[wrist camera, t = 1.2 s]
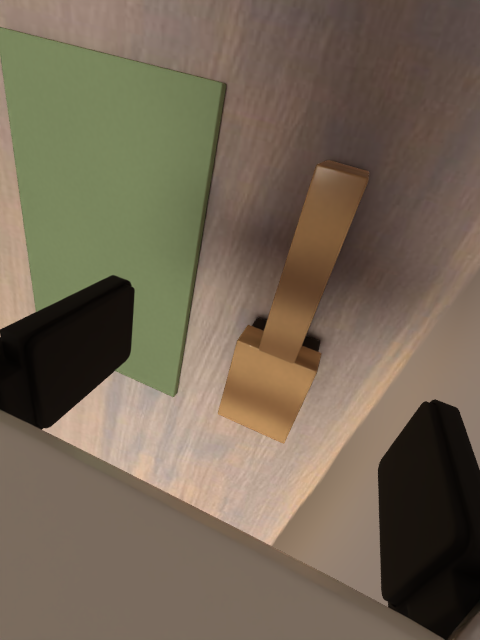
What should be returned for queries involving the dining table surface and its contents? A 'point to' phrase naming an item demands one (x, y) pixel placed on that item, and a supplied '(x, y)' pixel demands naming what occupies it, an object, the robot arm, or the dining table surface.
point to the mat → (113, 183)
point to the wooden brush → (293, 311)
